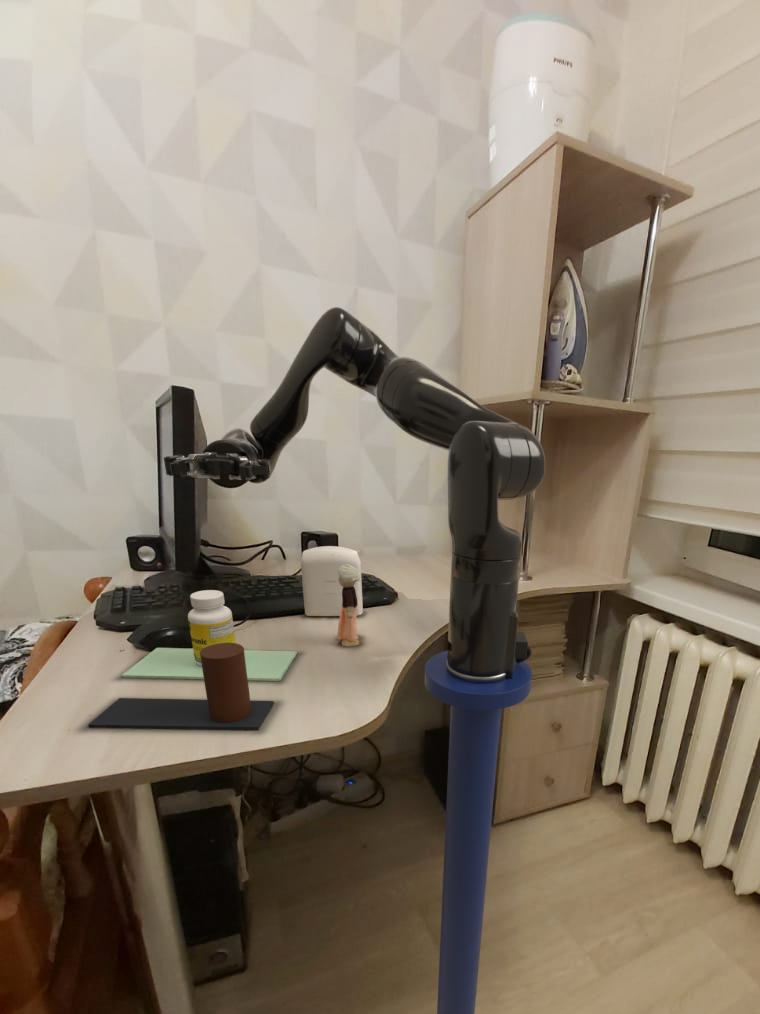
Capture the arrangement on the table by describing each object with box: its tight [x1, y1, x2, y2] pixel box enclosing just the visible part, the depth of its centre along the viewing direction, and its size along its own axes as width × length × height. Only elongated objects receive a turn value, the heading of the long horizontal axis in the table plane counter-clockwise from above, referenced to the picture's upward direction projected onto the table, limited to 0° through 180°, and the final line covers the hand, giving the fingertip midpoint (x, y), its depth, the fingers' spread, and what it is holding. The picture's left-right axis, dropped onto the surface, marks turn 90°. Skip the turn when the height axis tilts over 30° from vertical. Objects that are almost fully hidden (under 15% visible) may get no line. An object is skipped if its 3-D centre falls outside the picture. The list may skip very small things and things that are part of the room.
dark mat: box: [87, 697, 275, 731], centre depth 60 cm, size 18×6×1 cm, turn 94°
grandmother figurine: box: [337, 564, 362, 647], centre depth 80 cm, size 8×4×13 cm, turn 23°
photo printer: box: [300, 545, 364, 617], centre depth 91 cm, size 10×4×12 cm, turn 99°
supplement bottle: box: [187, 589, 237, 666], centre depth 71 cm, size 5×5×10 cm
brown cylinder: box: [200, 642, 251, 723], centre depth 59 cm, size 4×4×8 cm
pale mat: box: [121, 647, 298, 682], centre depth 72 cm, size 20×9×1 cm, turn 94°
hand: (210, 471), depth 73 cm, fingers open, 8 cm apart
